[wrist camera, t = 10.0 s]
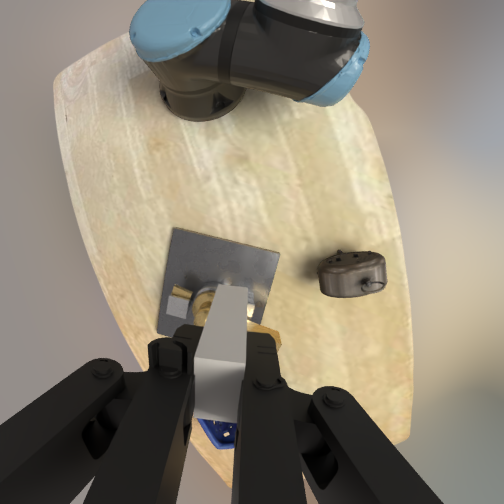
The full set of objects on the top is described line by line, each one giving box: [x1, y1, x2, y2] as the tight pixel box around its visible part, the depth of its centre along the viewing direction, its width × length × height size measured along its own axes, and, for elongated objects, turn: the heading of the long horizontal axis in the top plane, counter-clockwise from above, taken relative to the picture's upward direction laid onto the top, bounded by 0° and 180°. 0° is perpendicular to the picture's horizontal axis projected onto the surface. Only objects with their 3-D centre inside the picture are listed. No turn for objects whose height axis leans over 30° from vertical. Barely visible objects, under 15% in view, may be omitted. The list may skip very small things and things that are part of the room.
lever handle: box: [171, 284, 282, 352], centre depth 40 cm, size 17×5×7 cm, turn 67°
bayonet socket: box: [157, 227, 280, 337], centre depth 44 cm, size 20×18×7 cm
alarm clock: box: [317, 250, 387, 298], centre depth 39 cm, size 11×5×16 cm, turn 101°
